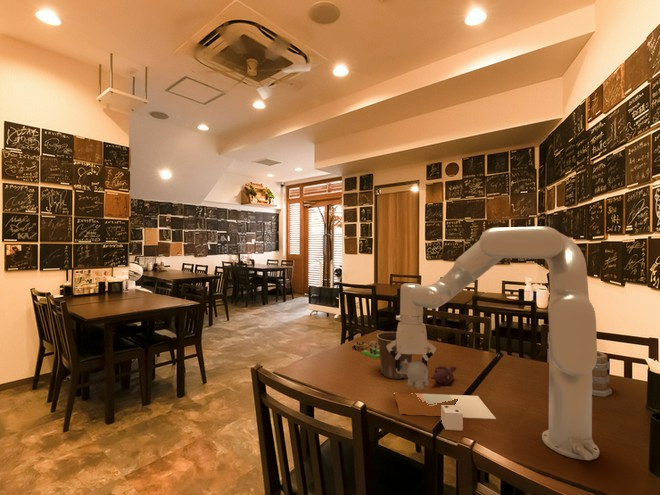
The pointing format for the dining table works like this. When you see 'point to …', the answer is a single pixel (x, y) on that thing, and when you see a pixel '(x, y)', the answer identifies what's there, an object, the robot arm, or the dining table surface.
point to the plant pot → (390, 356)
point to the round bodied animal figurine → (415, 373)
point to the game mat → (461, 404)
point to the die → (451, 417)
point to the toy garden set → (372, 353)
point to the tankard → (600, 376)
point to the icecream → (444, 374)
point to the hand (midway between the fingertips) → (410, 370)
